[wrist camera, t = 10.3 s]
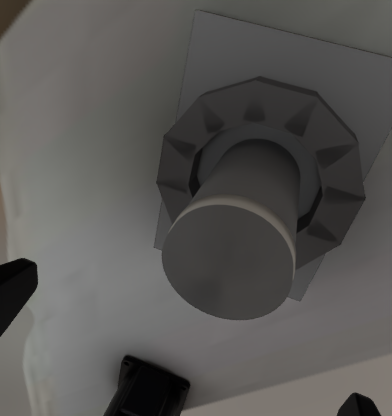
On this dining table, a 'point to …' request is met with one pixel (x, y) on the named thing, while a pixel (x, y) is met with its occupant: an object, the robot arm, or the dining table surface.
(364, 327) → the dining table surface
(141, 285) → the dining table surface
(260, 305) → the grey cylinder
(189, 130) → the grey notched ring
